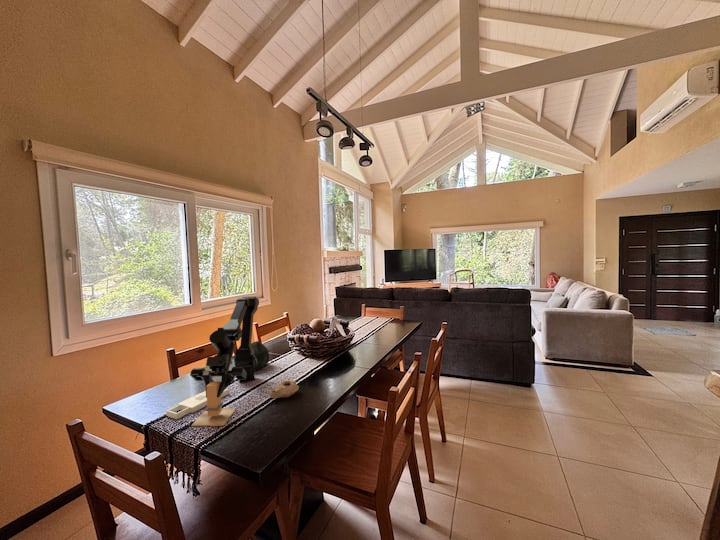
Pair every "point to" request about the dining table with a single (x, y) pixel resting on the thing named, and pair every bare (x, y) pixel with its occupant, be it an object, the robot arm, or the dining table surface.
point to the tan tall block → (213, 399)
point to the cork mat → (214, 418)
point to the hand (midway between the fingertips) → (212, 397)
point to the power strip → (191, 405)
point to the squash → (260, 354)
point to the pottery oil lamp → (284, 389)
